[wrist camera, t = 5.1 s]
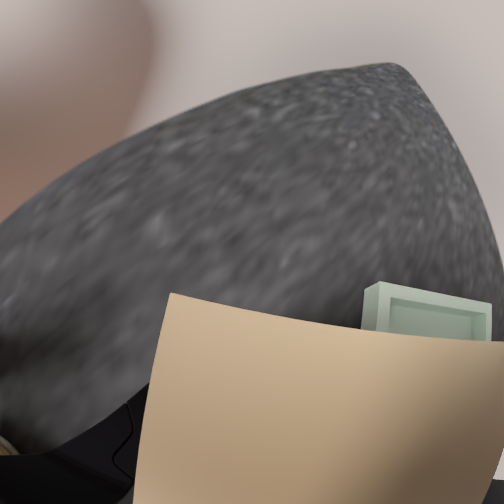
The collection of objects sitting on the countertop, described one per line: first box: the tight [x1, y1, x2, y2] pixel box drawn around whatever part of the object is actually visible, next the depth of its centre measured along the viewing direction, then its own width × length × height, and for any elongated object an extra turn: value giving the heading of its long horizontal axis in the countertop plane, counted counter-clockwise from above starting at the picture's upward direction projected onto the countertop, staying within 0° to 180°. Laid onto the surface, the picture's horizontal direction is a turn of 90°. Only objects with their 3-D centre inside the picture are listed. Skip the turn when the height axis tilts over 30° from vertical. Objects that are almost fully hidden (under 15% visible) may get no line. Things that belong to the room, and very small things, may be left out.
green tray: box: [361, 281, 492, 341], centre depth 13 cm, size 11×11×2 cm
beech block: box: [133, 293, 504, 504], centre depth 8 cm, size 4×5×13 cm
